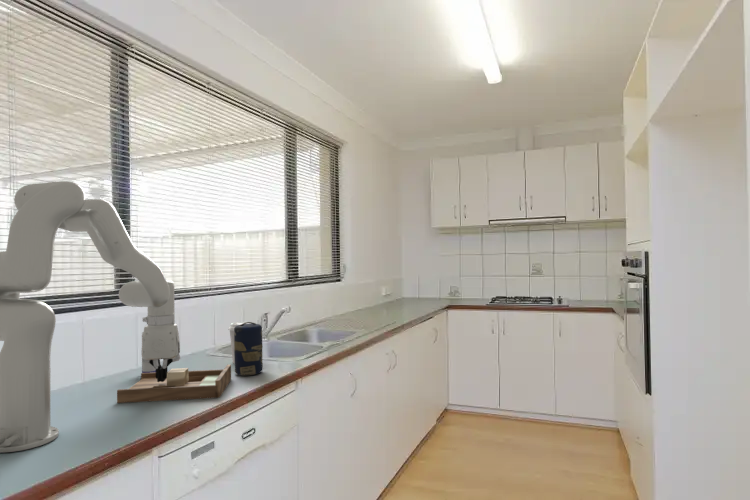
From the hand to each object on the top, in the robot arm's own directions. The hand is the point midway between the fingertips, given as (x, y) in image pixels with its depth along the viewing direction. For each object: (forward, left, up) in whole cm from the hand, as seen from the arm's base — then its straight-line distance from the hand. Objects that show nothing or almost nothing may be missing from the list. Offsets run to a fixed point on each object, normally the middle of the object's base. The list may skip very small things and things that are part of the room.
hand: (161, 380), depth 142 cm
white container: (+36, -19, -3) cm, 41 cm away
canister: (+17, -24, -3) cm, 29 cm away
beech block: (0, -5, -1) cm, 5 cm away
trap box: (0, -5, -3) cm, 6 cm away
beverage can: (+22, +10, -3) cm, 24 cm away
